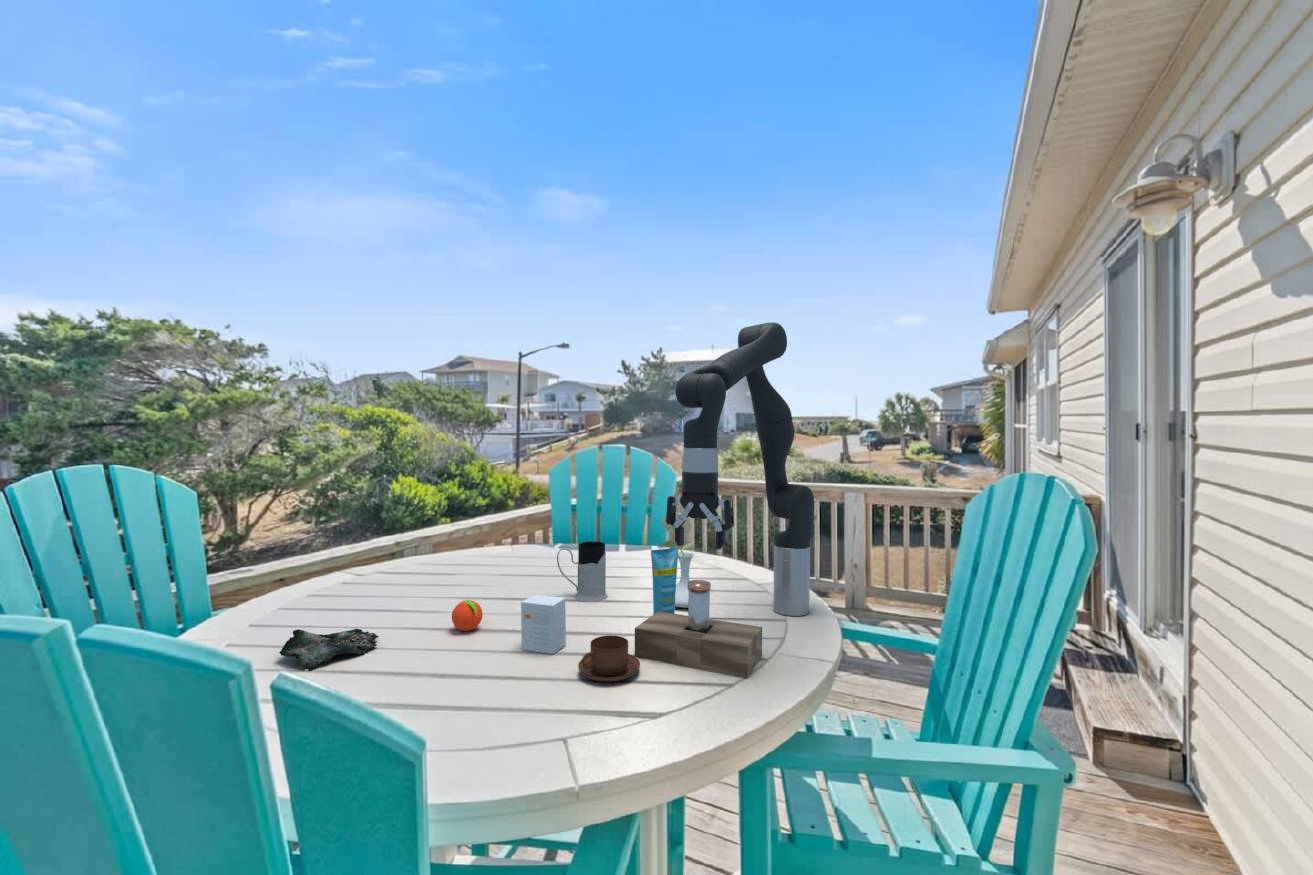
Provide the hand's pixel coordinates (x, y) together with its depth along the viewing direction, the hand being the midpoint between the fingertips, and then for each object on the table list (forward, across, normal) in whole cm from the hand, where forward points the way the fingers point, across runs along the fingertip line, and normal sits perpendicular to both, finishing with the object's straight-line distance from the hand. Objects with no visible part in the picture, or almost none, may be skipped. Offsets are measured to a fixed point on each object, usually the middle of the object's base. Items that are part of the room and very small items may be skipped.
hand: (699, 547), depth 118 cm
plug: (+22, 0, 0) cm, 22 cm away
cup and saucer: (+23, +13, +15) cm, 31 cm away
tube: (+23, +13, -12) cm, 29 cm away
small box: (+23, +32, +10) cm, 41 cm away
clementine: (+23, +54, +9) cm, 59 cm away
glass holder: (+23, +44, -25) cm, 56 cm away
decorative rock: (+24, +71, +30) cm, 81 cm away
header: (+23, 0, 0) cm, 23 cm away
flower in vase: (+23, +16, -31) cm, 42 cm away
